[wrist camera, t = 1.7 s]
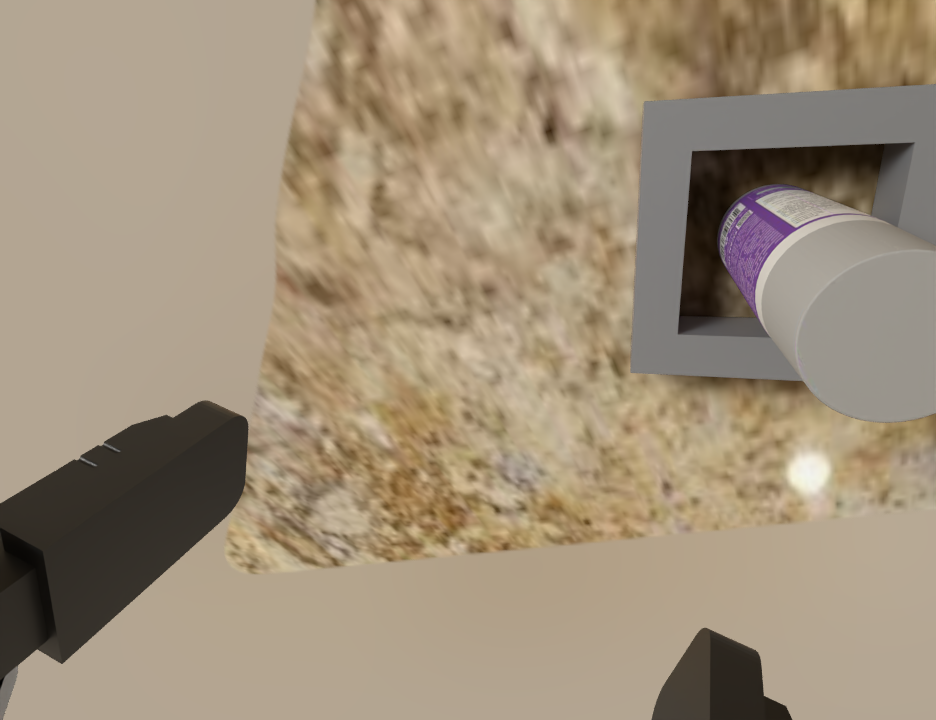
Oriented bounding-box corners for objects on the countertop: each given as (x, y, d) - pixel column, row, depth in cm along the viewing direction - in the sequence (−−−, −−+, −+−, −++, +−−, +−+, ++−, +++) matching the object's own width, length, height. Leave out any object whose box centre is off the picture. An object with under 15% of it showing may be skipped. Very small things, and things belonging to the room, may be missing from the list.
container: (757, 304, 29) (864, 460, 16) (695, 232, 29) (748, 330, 15) (849, 238, 27) (1061, 353, 14) (783, 160, 27) (935, 200, 13)
